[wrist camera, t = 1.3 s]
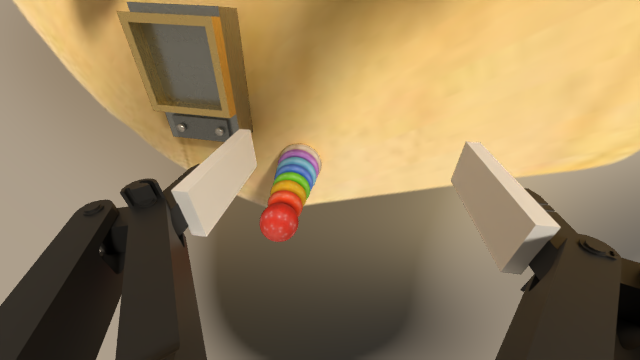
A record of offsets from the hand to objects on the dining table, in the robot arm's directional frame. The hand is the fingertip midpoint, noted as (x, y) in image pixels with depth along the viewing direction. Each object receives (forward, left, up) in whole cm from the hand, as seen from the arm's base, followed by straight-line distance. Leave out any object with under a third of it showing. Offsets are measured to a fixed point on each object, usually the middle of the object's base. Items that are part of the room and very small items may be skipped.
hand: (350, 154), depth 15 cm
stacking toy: (+15, -8, -24) cm, 30 cm away
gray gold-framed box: (+1, -23, -24) cm, 34 cm away
